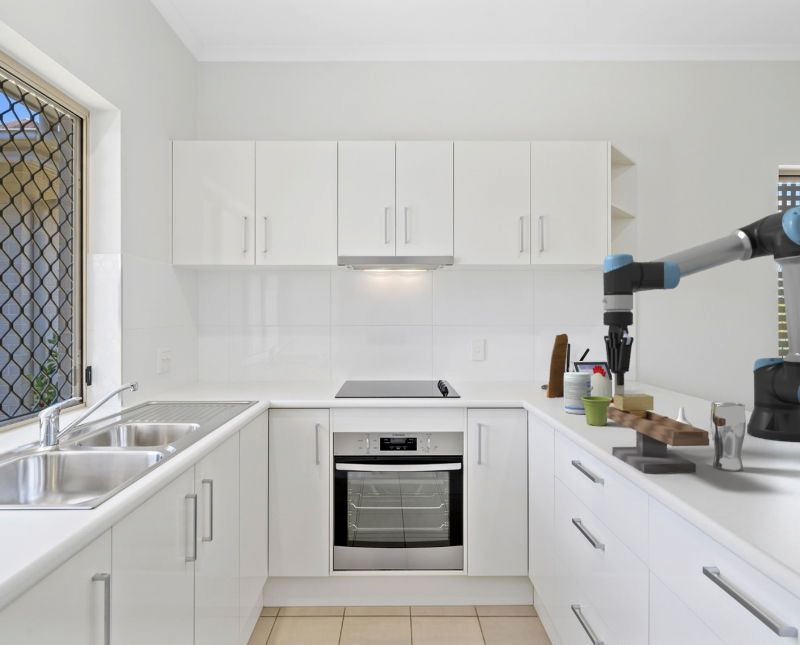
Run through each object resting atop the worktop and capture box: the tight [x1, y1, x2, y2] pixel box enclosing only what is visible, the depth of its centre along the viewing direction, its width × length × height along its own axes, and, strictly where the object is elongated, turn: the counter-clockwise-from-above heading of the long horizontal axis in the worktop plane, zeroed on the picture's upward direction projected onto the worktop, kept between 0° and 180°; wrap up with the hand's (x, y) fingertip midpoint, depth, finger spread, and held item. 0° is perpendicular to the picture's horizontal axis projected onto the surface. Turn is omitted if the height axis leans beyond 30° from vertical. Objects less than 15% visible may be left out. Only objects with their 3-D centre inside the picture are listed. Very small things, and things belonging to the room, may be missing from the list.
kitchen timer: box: [590, 364, 614, 404], centre depth 223 cm, size 14×14×15 cm
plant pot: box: [582, 396, 612, 427], centre depth 173 cm, size 9×9×9 cm
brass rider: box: [613, 393, 654, 418], centre depth 136 cm, size 5×8×5 cm, turn 92°
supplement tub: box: [563, 371, 591, 415], centre depth 195 cm, size 10×10×15 cm
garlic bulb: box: [675, 406, 693, 426], centre depth 161 cm, size 6×6×8 cm
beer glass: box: [709, 401, 747, 473], centre depth 122 cm, size 7×7×15 cm
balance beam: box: [606, 406, 710, 474], centre depth 127 cm, size 32×12×11 cm, turn 2°
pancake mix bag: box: [546, 333, 569, 399], centre depth 236 cm, size 7×19×28 cm, turn 141°
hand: (618, 396), depth 144 cm, fingers closed
